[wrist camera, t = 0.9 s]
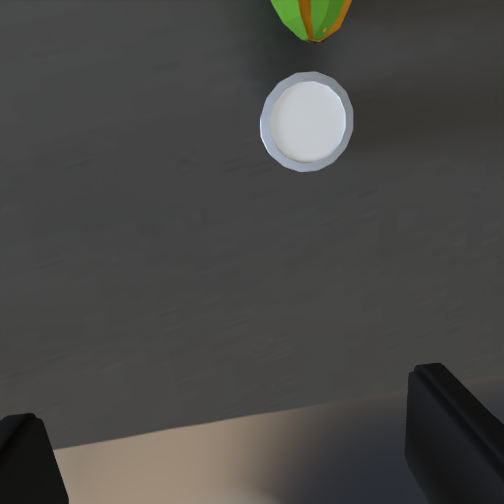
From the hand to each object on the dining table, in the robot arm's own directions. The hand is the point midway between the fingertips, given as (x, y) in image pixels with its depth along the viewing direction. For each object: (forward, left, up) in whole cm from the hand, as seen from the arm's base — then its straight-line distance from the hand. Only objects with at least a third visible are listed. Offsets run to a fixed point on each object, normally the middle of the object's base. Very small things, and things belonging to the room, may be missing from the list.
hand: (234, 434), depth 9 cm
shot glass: (-4, +10, -26) cm, 28 cm away
